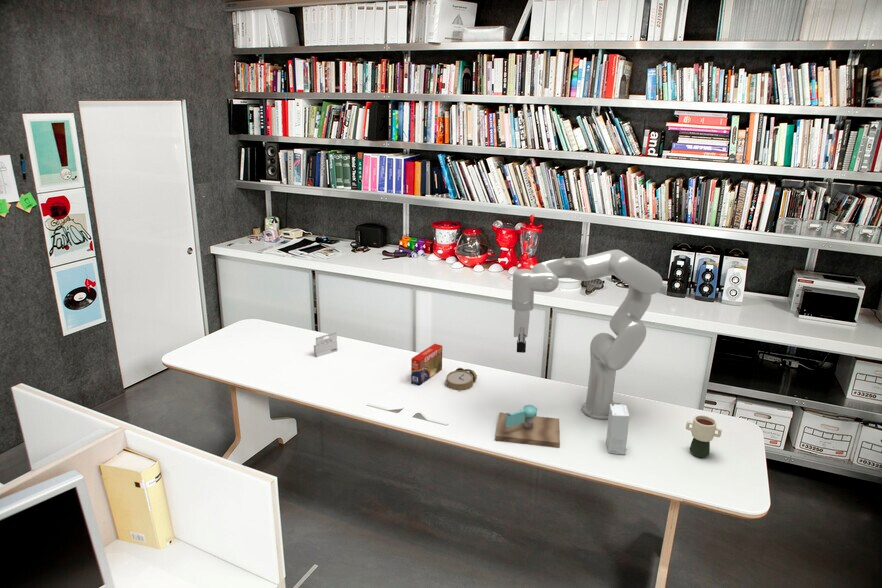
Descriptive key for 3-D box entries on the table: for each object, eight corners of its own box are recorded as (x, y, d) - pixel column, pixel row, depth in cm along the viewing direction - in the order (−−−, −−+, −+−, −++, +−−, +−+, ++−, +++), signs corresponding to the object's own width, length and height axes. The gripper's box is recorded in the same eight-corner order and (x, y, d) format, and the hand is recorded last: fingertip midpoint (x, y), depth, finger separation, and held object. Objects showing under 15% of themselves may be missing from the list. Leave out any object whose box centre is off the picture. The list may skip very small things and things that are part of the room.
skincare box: (625, 455, 200) (631, 416, 195) (607, 453, 201) (612, 415, 196) (622, 441, 208) (627, 404, 203) (604, 439, 209) (609, 402, 204)
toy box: (419, 386, 244) (419, 360, 240) (411, 383, 246) (411, 358, 242) (442, 369, 259) (442, 345, 255) (434, 367, 261) (434, 343, 257)
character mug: (716, 452, 203) (723, 419, 198) (715, 463, 197) (722, 429, 192) (682, 443, 207) (688, 411, 203) (680, 454, 201) (686, 421, 197)
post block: (558, 423, 219) (560, 406, 216) (559, 447, 204) (561, 430, 201) (499, 417, 222) (500, 400, 220) (495, 440, 207) (496, 423, 205)
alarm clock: (440, 380, 243) (459, 361, 254) (441, 389, 246) (459, 370, 257) (464, 387, 238) (482, 368, 249) (465, 397, 240) (482, 377, 251)
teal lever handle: (530, 414, 214) (531, 402, 213) (538, 421, 210) (539, 409, 209) (502, 423, 208) (502, 411, 207) (510, 430, 204) (511, 418, 203)
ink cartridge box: (313, 355, 270) (312, 336, 267) (335, 349, 277) (334, 330, 273) (316, 357, 268) (315, 337, 265) (337, 351, 275) (337, 332, 272)
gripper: (512, 296, 216) (511, 342, 222) (511, 311, 202) (510, 360, 208) (533, 297, 215) (531, 343, 221) (533, 312, 201) (531, 361, 207)
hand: (521, 351), depth 214 cm, fingers closed
